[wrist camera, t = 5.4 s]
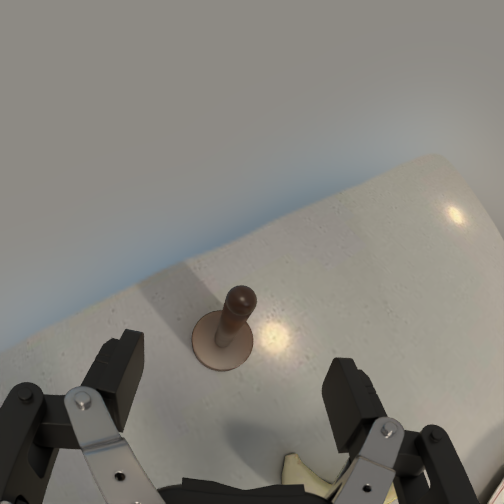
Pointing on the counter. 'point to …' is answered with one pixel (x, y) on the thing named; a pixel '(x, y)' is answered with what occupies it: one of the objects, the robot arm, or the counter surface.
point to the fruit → (313, 478)
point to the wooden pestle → (226, 332)
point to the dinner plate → (498, 494)
